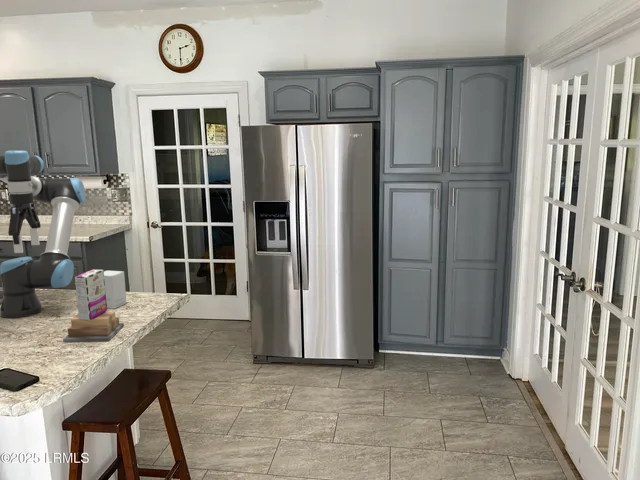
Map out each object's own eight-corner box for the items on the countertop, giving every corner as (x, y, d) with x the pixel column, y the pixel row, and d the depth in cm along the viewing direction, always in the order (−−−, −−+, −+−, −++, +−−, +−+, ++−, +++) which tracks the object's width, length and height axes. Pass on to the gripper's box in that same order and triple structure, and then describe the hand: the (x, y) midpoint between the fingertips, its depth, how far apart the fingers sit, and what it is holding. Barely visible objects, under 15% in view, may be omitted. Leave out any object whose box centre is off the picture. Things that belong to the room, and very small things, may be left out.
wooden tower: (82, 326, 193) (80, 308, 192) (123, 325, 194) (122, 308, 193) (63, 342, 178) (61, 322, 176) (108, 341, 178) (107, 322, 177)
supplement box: (127, 303, 223) (125, 271, 221) (114, 309, 215) (112, 275, 212) (109, 301, 225) (107, 269, 223) (96, 307, 217) (93, 274, 214)
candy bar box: (95, 310, 190) (92, 269, 187) (107, 311, 189) (104, 269, 186) (77, 320, 179) (73, 276, 176) (90, 320, 178) (86, 276, 176)
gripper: (15, 196, 172) (22, 256, 176) (46, 189, 196) (51, 241, 200) (-8, 196, 171) (0, 256, 175) (26, 189, 195) (32, 242, 199)
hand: (27, 248), depth 188 cm, fingers open, 13 cm apart
